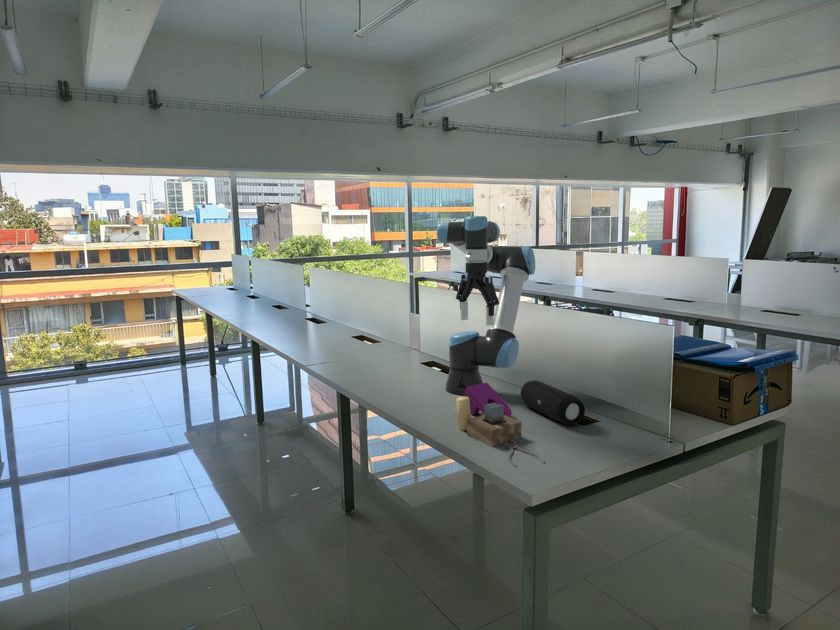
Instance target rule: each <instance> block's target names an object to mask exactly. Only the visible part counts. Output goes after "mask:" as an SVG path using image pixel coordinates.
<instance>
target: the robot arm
mask: <svg viewBox="0 0 840 630" xmlns="http://www.w3.org/2000/svg"><path fill="white" fill-rule="evenodd" d="M500 234H501V230H500V227H499V225H498V223H496V222H494V221H490V220H489V221H488V217H487V216H485V215H474V216H471V215H469V216H467V217H465V221H447V222H446V221H445V222H440V223H439V224H438V226H437V228H436V238H437V241H438V242H439V243H440V244H441V243H442V244H451V245H453V246H454V247H455V248H456V249H458V250H459V251H460V252H462V253H463V254H465V261H466V262H465V274H461V276H460V278H461V279H460V283H459V285H458V289H457V293H456V295H455V299H456V300H458V302H459V310H460V321H467V320H469V302H468V298H469V297H470V295H471V293H472V291H473V290H474V289H475V290H478V291H479V292H480V294H481V295H482V297H483V300H484V302H485V303H486V306H485V326H486V327H487V326H488V327H489V326H491V327H489V328H488V329H487V330H486V333H485V335H480V332H479V331H475V330H469V331H468V330H467V331H462V332H461V331H460V332H456V333H453V334H452V335H450V337H449V346H448V347H449V350H448V351H449V352H448V353H449V371H448V376H447V379H446V382H445V391H446V392H448V393H450V394H453V395H463V394H464V391H465V388H466V387H467V386H472V385H477V384H482V383H484V382H483V380H482V376H481V373H480V367H488V368H497V369H510V368H512V367H513V366H514V364H515V363H516V361H517V358H518V357H519V349H520V344H519V341H518V339H517V336H516V334H515V333H514V329H515V324H516V319H517V316H518V310H519V306H520V302H519V301H521V296H522V291H523V289H524V288H523V286H524V283H526V282H527V281H528V280H529V276H532V275H534V274H535V271H536V257H535V252H534V250H533V248H532V247H531V246H529V245H528V246H526V245H519V246H518V245H517V246H516V245H515V246H514V245H512V246H511V245H488V244H491V243H494V242H495V241H497V240H498V238H499V236H500ZM488 272H489V273H492V274H498V275H499V274H500V277H501V278H502V281H501V285H500V289H499V293H498V294H497V293H496V290H495V286H494V283H493V276H486V274H487V273H488ZM506 299H507V300H506ZM495 306H496V307H495Z"/></svg>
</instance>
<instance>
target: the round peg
mask: <svg viewBox="0 0 840 630" xmlns="http://www.w3.org/2000/svg"><path fill="white" fill-rule="evenodd" d="M455 402H456V411H457V420H458V421H457V423H458V429H459V430H460V431H467V419H470V418H472V415H471V412H470V401H469V397H463V396H458V397H456V401H455Z"/></svg>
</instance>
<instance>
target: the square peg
mask: <svg viewBox="0 0 840 630" xmlns="http://www.w3.org/2000/svg"><path fill="white" fill-rule="evenodd" d="M483 415H484V422H486V423H488V424H491V425H497V424H500V423H504V406H503V405H500V404H498V403H490V404H486V405H484V414H483Z"/></svg>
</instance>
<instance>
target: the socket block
mask: <svg viewBox="0 0 840 630" xmlns="http://www.w3.org/2000/svg"><path fill="white" fill-rule="evenodd" d="M467 435H468V436H469V437H471V438H474V439H476V440H478V441H480V442H482V443H484V444H486V445H488V446H491V447H495V446H497V445H498V446H499V445H503V444H502V442H504V441H505V442H507V443H508V442H511V441H510V439H512V440H514V441H515V440H518V439H520V438H522V421H520V420H518V419H516V418H512V417H507V416H505V415H504V423H500V424H497V425H491V424H488V423H486V422H484V414H481V415H478V416H474V417H471V418H470V419H467V430H466V436H467Z"/></svg>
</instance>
